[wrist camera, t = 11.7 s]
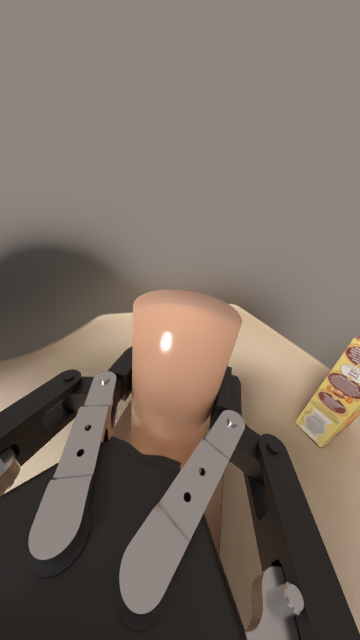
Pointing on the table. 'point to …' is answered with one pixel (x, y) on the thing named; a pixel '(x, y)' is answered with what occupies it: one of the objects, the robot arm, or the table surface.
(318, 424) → the candy box
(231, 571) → the table surface
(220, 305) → the orange tan cylinder
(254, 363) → the table surface
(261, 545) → the robot arm
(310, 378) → the table surface
